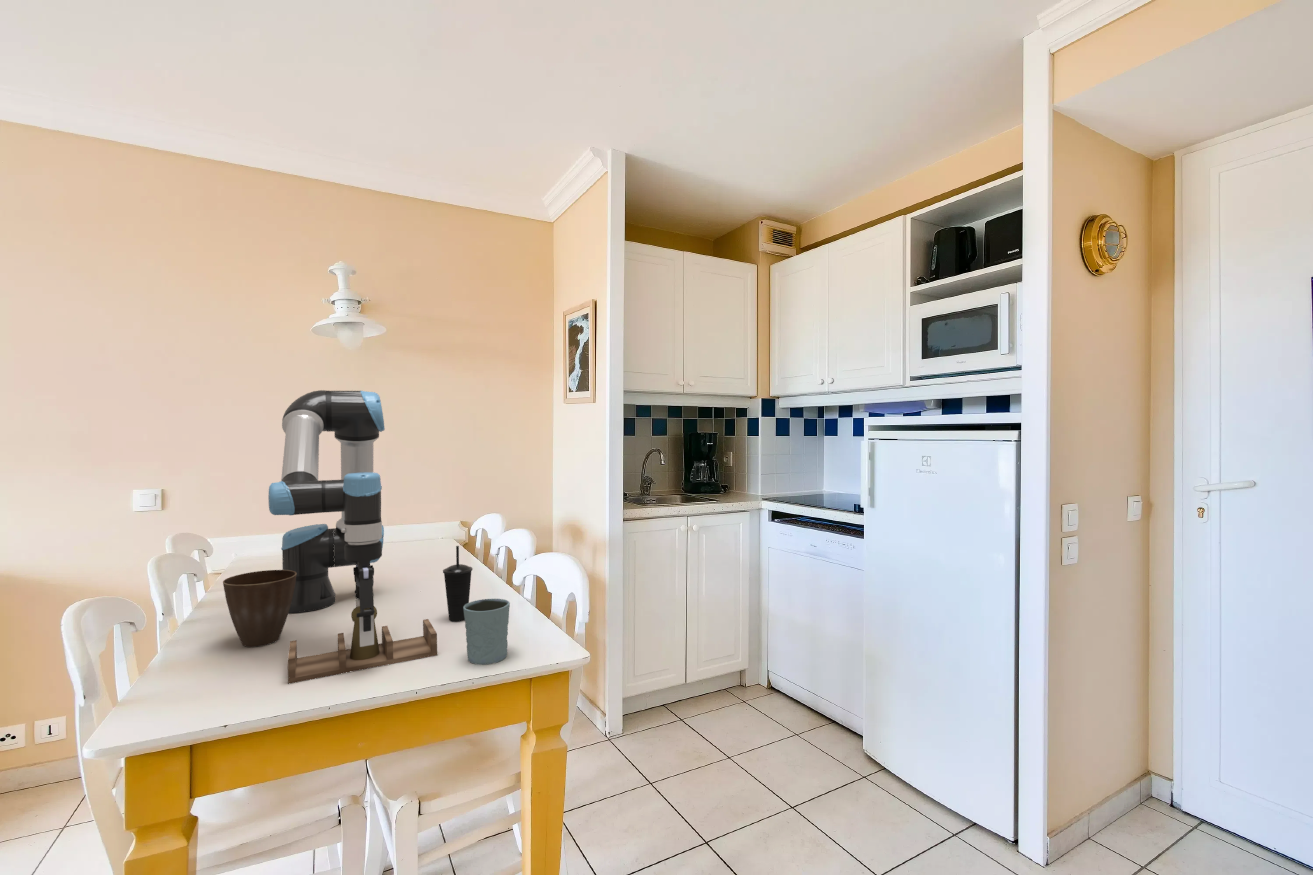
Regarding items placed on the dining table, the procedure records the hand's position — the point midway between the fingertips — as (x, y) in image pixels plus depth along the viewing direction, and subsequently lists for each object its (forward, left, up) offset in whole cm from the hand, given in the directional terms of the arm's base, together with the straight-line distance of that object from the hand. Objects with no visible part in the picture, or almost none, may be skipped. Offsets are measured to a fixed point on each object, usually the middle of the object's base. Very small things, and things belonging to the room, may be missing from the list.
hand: (364, 635), depth 131 cm
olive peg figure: (0, 0, -4) cm, 5 cm away
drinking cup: (-18, +24, -6) cm, 30 cm away
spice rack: (0, 0, -5) cm, 5 cm away
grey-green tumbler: (+13, +24, -6) cm, 28 cm away
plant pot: (-26, -21, -6) cm, 34 cm away
